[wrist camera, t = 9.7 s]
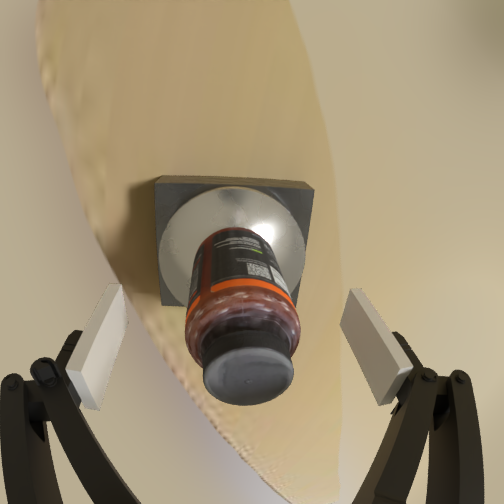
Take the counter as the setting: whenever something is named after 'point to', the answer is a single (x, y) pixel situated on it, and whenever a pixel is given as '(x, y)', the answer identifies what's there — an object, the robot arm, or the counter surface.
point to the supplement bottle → (241, 318)
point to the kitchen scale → (228, 224)
